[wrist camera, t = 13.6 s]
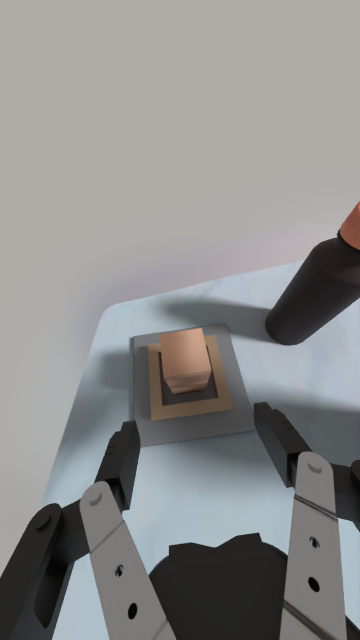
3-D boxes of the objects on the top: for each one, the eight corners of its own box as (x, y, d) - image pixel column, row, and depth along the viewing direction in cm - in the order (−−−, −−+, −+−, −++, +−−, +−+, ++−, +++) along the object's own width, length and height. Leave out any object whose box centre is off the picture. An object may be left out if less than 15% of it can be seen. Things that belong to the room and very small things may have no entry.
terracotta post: (198, 360, 29) (201, 327, 20) (205, 390, 27) (211, 370, 17) (170, 364, 29) (159, 334, 20) (174, 395, 27) (163, 378, 17)
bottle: (284, 353, 30) (410, 252, 13) (256, 321, 33) (325, 206, 16) (315, 333, 31) (467, 218, 14) (285, 305, 34) (379, 181, 17)
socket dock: (225, 325, 33) (227, 317, 30) (254, 429, 25) (262, 430, 22) (135, 338, 33) (130, 331, 30) (136, 447, 25) (129, 450, 22)
